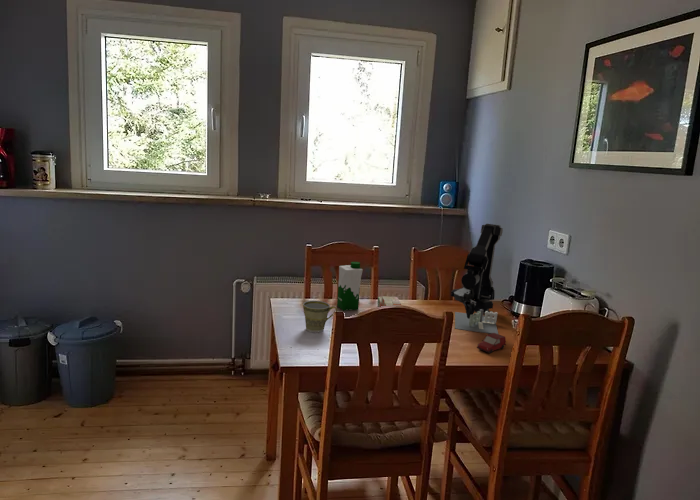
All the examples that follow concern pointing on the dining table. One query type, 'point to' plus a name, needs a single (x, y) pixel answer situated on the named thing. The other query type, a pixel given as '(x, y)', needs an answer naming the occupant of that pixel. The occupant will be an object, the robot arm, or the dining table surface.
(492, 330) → the mat
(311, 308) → the ceramic cup
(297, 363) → the dining table surface
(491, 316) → the fixed fence panel
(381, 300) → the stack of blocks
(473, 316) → the hinged fence panel
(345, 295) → the milk carton
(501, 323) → the dining table surface
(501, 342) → the red toy car
